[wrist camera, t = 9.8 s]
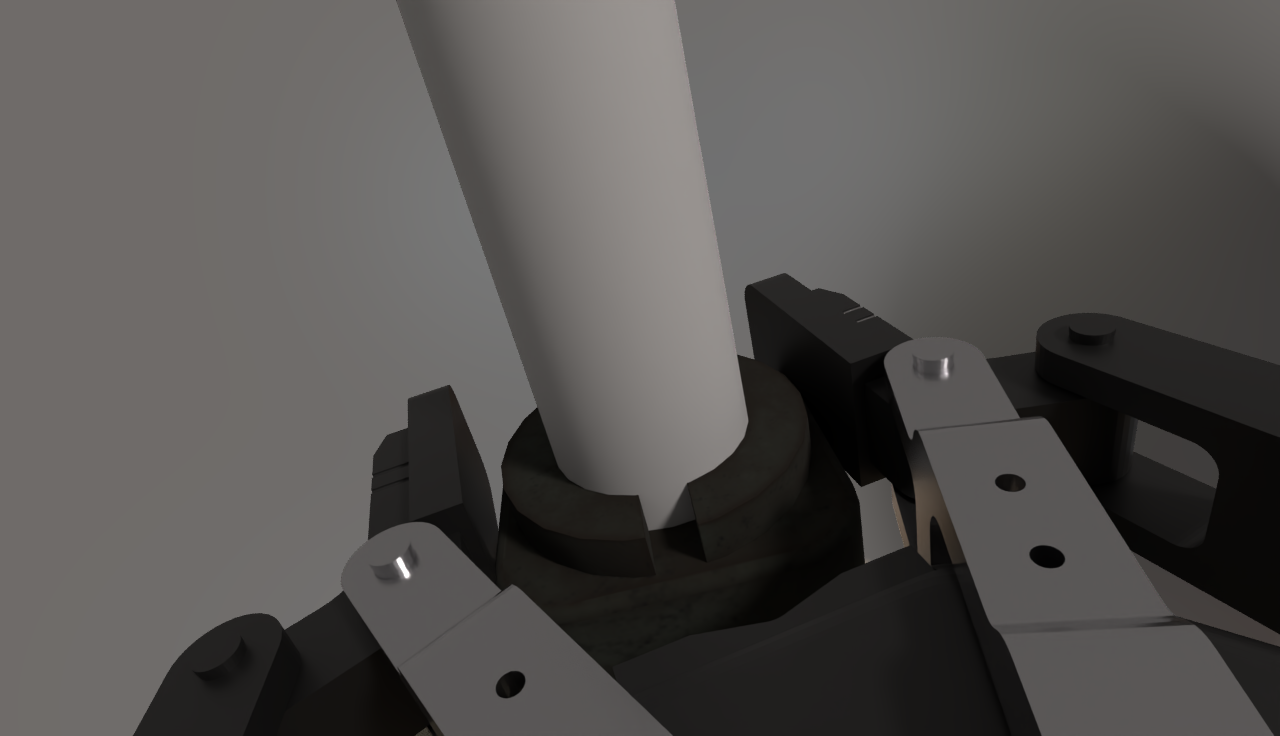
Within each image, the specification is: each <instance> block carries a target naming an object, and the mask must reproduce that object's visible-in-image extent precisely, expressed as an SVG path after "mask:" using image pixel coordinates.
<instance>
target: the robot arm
mask: <svg viewBox="0 0 1280 736" xmlns="http://www.w3.org/2000/svg"><path fill="white" fill-rule="evenodd" d="M745 303H746V309H747V315H748V321H749V328H750V334H751V340H752V347H753V353H754V358H755V360H757V361H761V362H763V363H764V364H766V365H768V366H770V367H771V368H773V369H775V370H777V371H779V372H780V373H782V374H784V375H785V376H787V378H788V379H789V380H790V381H791V382H792V383H793V384H794V385H795V386H796V388H797V390H798V391H799V392H800V393H801V396H802V398H803V400H804V401H805V403H806V405H807V407H808V408H809V410H810V412H811V413H812V415H813V417H814V419H815V420H816V422H817V424H818V425H819V427H820V429H821V431H822V432H823V434H824V436H825V437H826V439H827V441H828V443H829V444H830V446H831V448H832V449H833V451H834V453H835V455H836V456H837V458H838V460H839V461H840V463H841V465H842V466H843V468H844V470H845V471H846V472H847V473H848V474H849V475H850V476H851V477H852V478H853V479H854V480H855V481H856V482H857V483H858V484H859V485H860V486H861V487H862V486H865V485H867V484H870V483H873V482H875V481H878V480H880V479H883V478H887V479H888V480H889V481H890V482H891V491H892V503H893V507H894V511H895V515H896V518H897V522H898V526H899V529H900V533H901V537H902V540H903V544H904V547H905V548H902V549H900V550H897V551H895V552H893V553H890V554H887V555H885V556H883V557H880V558H878V559H875V560H873V561H870V562H868V563H865V564H863V565H861V566H858V567H856V568H853V569H851V570H848V571H846V572H843V573H841V574H840V575H838V576H837V577H836V578H834V579H833V580H831V581H830V582H829V583H827V584H826V585H824V586H823V587H822V588H820V589H819V590H818V591H816V592H815V593H813V594H812V595H811V596H809V597H808V598H806V599H805V600H804V601H802V602H801V603H800V604H798V605H797V606H795V607H794V608H793V609H791V610H790V611H788V612H787V613H786V614H784V615H783V616H781V617H780V618H778V619H775V620H772V621H768V622H763V623H758V624H752V625H746V626H740V627H735V628H729V629H723V630H718V631H712V632H706V633H701V634H695V635H689V636H687V637H684V638H682V639H680V640H677V641H675V642H672V643H670V644H667V645H665V646H662V647H660V648H657V649H655V650H653V651H650V652H648V653H645V654H643V655H640V656H638V657H635V658H633V659H631V660H628V661H626V662H623V663H621V664H618V665H616V666H613V667H612V668H613V671H614V674H615V677H616V680H617V682H616V681H615V680H614V679H613V678H612V677H611V676H610V675H609V674H608V673H607V672H606V671H605V670H604V669H603V668H602V667H601V666H600V665H599V664H598V663H597V662H596V661H595V660H594V659H592V658H591V657H590V656H589V655H588V654H587V653H586V652H585V651H584V650H583V649H582V648H581V647H580V646H579V645H578V644H577V643H576V642H575V641H574V640H573V639H572V638H571V637H570V636H569V635H567V634H566V633H565V632H564V631H563V630H562V629H561V628H560V627H559V626H558V625H557V624H556V623H555V622H554V621H553V620H552V619H551V618H550V617H549V616H548V615H547V614H546V613H545V612H543V611H542V610H541V609H540V608H539V607H538V606H537V605H536V604H535V603H534V602H533V601H532V600H531V599H530V598H529V597H528V596H527V595H526V594H525V593H524V592H523V591H521V590H520V589H519V588H518V587H516V586H515V585H513V584H510V585H508V586H507V587H506V588H504V589H503V590H502V591H501V590H500V589H499V588H498V587H497V586H496V581H497V577H496V570H495V561H496V551H497V541H498V526H497V520H496V514H495V509H494V504H493V498H492V493H491V488H490V484H489V480H488V477H487V473H486V470H485V467H484V464H483V462H482V459H481V456H480V454H479V452H478V449H477V447H476V444H475V442H474V439H473V437H472V434H471V432H470V430H469V427H468V425H467V423H466V420H465V418H464V415H463V413H462V410H461V408H460V405H459V403H458V400H457V398H456V396H455V394H454V391H453V390H452V388H451V386H450V385H447V386H445V387H441V388H439V389H435V390H432V391H430V392H426V393H423V394H420V395H418V396H414V397H411V398H409V399H408V428H407V429H403V430H400V431H398V432H395V433H392V434H389V435H387V436H386V437H385V439H384V440H383V442H382V444H381V445H380V446H379V448H378V450H377V451H376V453H375V454H374V458H373V473H372V475H373V478H372V488H371V490H372V494H371V503H370V518H369V533H368V534H369V535H368V541H367V542H366V543H364V544H363V545H362V546H361V547H360V548H359V549H358V550H357V551H356V552H355V553H354V554H353V555H352V556H351V558H350V559H349V560H348V562H347V563H346V565H345V567H344V569H343V572H342V577H341V585H342V588H343V590H344V591H342V593H340V594H339V595H338V596H337V597H335V598H334V599H333V600H332V601H330V602H329V603H327V604H326V605H324V606H323V607H321V608H320V609H318V610H317V611H315V612H313V613H312V614H310V615H308V616H307V617H305V618H303V619H302V620H300V621H299V622H297V623H295V624H294V625H292V626H290V627H289V628H287V629H286V630H284V629H283V627H282V626H281V624H280V623H279V621H278V620H277V619H276V618H275V617H273V616H270V615H268V614H262V613H258V614H249V615H244V616H241V617H237V618H234V619H232V620H229V621H227V622H225V623H223V624H221V625H219V626H217V627H215V628H214V629H212V630H210V631H209V632H207V633H206V634H204V635H203V636H202V637H200V638H199V639H198V640H196V641H195V642H194V643H193V644H192V645H191V646H189V647H188V648H187V649H186V650H185V651H184V653H182V655H181V656H180V657H179V658H178V659H177V660H176V662H175V663H174V664H173V665H172V667H171V668H170V670H169V672H168V673H167V675H166V677H165V679H164V680H163V682H162V684H161V686H160V688H159V689H158V692H157V693H156V695H155V697H154V699H153V701H152V702H151V704H150V706H149V708H148V710H147V712H146V713H145V715H144V717H143V719H142V721H141V723H140V724H139V726H138V728H137V730H136V731H135V733H134V735H133V736H415V735H416V734H417V733H419V732H420V731H421V730H423V729H424V728H427V730H428V731H429V733H430V734H431V736H1280V647H1279V646H1275V645H1272V644H1268V643H1265V642H1262V641H1258V640H1255V639H1251V638H1248V637H1245V636H1242V635H1238V634H1234V633H1231V632H1228V631H1225V630H1221V629H1218V628H1214V627H1211V626H1208V625H1204V624H1201V623H1198V622H1194V621H1191V620H1187V619H1184V618H1181V617H1177V616H1175V615H1174V614H1173V613H1172V612H1171V611H1170V610H1169V609H1168V608H1167V607H1166V605H1165V604H1164V602H1163V601H1162V599H1161V598H1160V596H1159V595H1158V593H1157V591H1156V590H1155V588H1154V587H1153V585H1152V584H1151V582H1150V580H1149V579H1148V577H1147V576H1146V574H1145V573H1144V571H1143V569H1142V568H1141V566H1140V565H1139V563H1138V561H1137V560H1136V559H1135V557H1134V555H1133V554H1132V552H1131V551H1133V552H1135V553H1137V554H1138V555H1140V556H1142V557H1144V558H1145V559H1147V560H1149V561H1151V562H1152V563H1154V564H1156V565H1158V566H1159V567H1161V568H1163V569H1165V570H1167V571H1168V572H1170V573H1172V574H1174V575H1176V576H1177V577H1179V578H1181V579H1182V580H1184V581H1186V582H1188V583H1190V584H1191V585H1193V586H1195V587H1197V588H1198V589H1200V590H1202V591H1204V592H1206V593H1207V594H1209V595H1211V596H1213V597H1214V598H1216V599H1218V600H1220V601H1222V602H1223V603H1225V604H1227V605H1229V606H1230V607H1232V608H1234V609H1236V610H1238V611H1239V612H1241V613H1243V614H1245V615H1247V616H1248V617H1250V618H1252V619H1253V620H1255V621H1257V622H1259V623H1261V624H1263V625H1264V626H1266V627H1268V628H1270V629H1271V630H1273V631H1275V632H1277V633H1278V634H1280V365H1276V364H1273V363H1270V362H1267V361H1264V360H1260V359H1257V358H1253V357H1250V356H1247V355H1243V354H1240V353H1237V352H1234V351H1231V350H1227V349H1224V348H1220V347H1217V346H1214V345H1211V344H1208V343H1204V342H1201V341H1197V340H1194V339H1191V338H1188V337H1184V336H1181V335H1178V334H1175V333H1171V332H1168V331H1165V330H1161V329H1158V328H1155V327H1152V326H1148V325H1145V324H1142V323H1138V322H1135V321H1131V320H1128V319H1125V318H1122V317H1118V316H1113V315H1107V314H1098V313H1078V314H1069V315H1064V316H1060V317H1057V318H1054V319H1052V320H1049V321H1047V322H1046V323H1044V324H1043V325H1042V326H1041V327H1040V328H1039V329H1038V331H1037V337H1036V352H1031V353H1025V354H1018V355H1012V356H1005V357H999V358H991V359H985V357H984V355H983V354H982V353H981V351H980V350H979V349H977V348H976V347H975V346H973V345H971V344H970V343H967V342H964V341H961V340H957V339H952V338H945V337H927V338H919V339H912V338H910V337H909V336H907V335H906V334H904V333H903V332H901V331H900V330H898V329H896V328H895V327H893V326H892V325H890V324H889V323H887V322H886V321H884V320H882V319H881V318H879V317H878V316H876V317H875V316H874V314H873V313H872V312H870V311H868V310H867V309H865V308H864V307H863V308H861V307H860V305H859V304H857V303H856V302H854V301H853V300H851V299H850V298H848V297H847V296H845V295H844V294H840V293H836V292H831V291H828V290H824V289H819V288H818V289H815V290H812V291H811V290H810V289H808V288H807V287H805V286H804V285H802V284H801V283H800V282H798V281H797V280H795V279H794V278H792V277H791V276H789V275H788V274H786V273H783V274H780V275H777V276H774V277H771V278H768V279H765V280H762V281H759V282H756V283H753V284H750V285H748V286H747V287H746V288H745ZM1138 420H1141V421H1143V422H1146V423H1148V424H1150V425H1153V426H1155V427H1158V428H1160V429H1163V430H1165V431H1167V432H1170V433H1172V434H1175V435H1177V436H1180V437H1182V438H1184V439H1187V440H1189V441H1192V442H1194V443H1196V444H1198V445H1199V446H1201V447H1202V448H1203V449H1205V450H1206V451H1207V452H1208V453H1209V454H1210V455H1211V456H1212V458H1213V459H1214V460H1215V462H1216V464H1217V467H1218V469H1219V479H1218V484H1217V488H1216V489H1215V488H1213V487H1211V486H1209V485H1206V484H1204V483H1202V482H1200V481H1197V480H1195V479H1193V478H1191V477H1189V476H1186V475H1184V474H1182V473H1180V472H1178V471H1175V470H1173V469H1171V468H1169V467H1166V466H1164V465H1162V464H1160V463H1158V462H1155V461H1153V460H1151V459H1149V458H1147V457H1144V456H1142V455H1140V454H1138V453H1135V452H1133V450H1134V445H1135V438H1136V431H1137V424H1138Z"/></svg>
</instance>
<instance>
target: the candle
mask: <svg viewBox="0 0 1280 736" xmlns="http://www.w3.org/2000/svg"><path fill="white" fill-rule="evenodd" d="M396 1H397V4H398V7H399V10H400V13H401V16H402V18H403V21H404V24H405V27H406V30H407V33H408V36H409V39H410V41H411V44H412V47H413V50H414V53H415V56H416V59H417V62H418V64H419V67H420V70H421V73H422V76H423V79H424V82H425V85H426V87H427V90H428V93H429V96H430V99H431V102H432V105H433V108H434V110H435V113H436V116H437V119H438V122H439V125H440V128H441V131H442V133H443V136H444V139H445V142H446V145H447V148H448V151H449V154H450V156H451V159H452V162H453V165H454V168H455V171H456V174H457V177H458V179H459V182H460V185H461V188H462V191H463V194H464V197H465V200H466V202H467V205H468V208H469V211H470V214H471V217H472V220H473V223H474V225H475V228H476V231H477V234H478V237H479V239H480V243H481V245H482V249H483V251H484V254H485V257H486V260H487V263H488V266H489V269H490V271H491V274H492V277H493V280H494V283H495V286H496V289H497V292H498V295H499V297H500V300H501V303H502V306H503V309H504V312H505V315H506V318H507V320H508V323H509V326H510V329H511V332H512V335H513V338H514V341H515V343H516V346H517V349H518V352H519V355H520V358H521V360H522V364H523V366H524V369H525V372H526V375H527V378H528V381H529V383H530V387H531V389H532V392H533V395H534V398H535V401H536V404H537V408H536V409H535V410H534V411H533V412H532V413H531V414H529V415H528V417H526V418H525V419H524V421H523V422H522V423H521V425H520V426H519V428H518V429H517V431H516V432H515V433H514V435H513V436H512V438H511V439H510V441H509V442H508V446H507V449H506V452H505V455H504V458H503V462H502V465H501V469H502V478H503V493H502V502H501V512H500V522H499V531H498V541H497V551H496V561H495V570H496V577H497V581H496V586H497V587H498V588H499V589H500V590H501V591H502V590H503V589H504V588H506V587H507V586H508V585H510V584H513V585H515V586H516V587H518V588H519V589H520V590H521V591H523V592H524V593H525V594H526V595H527V596H528V597H529V598H530V599H531V600H532V601H533V602H534V603H535V604H536V605H537V606H538V607H539V608H540V609H541V610H542V611H543V612H545V613H546V614H547V615H548V616H549V617H550V618H551V619H552V620H553V621H554V622H555V623H556V624H557V625H558V626H559V627H560V628H561V629H562V630H563V631H564V632H565V633H566V634H567V635H569V636H570V637H571V638H572V639H573V640H574V641H575V642H576V643H577V644H578V645H579V646H580V647H581V648H582V649H583V650H584V651H585V652H586V653H587V654H588V655H589V656H590V657H591V658H592V659H594V660H595V661H596V662H597V663H598V664H599V665H600V666H601V667H602V668H603V669H604V670H605V671H606V672H607V673H608V674H609V675H610V676H611V677H612V678H613V679H614V680H615V681H616V682H617V680H616V677H615V674H614V671H613V668H612V667H613V666H616V665H618V664H621V663H623V662H626V661H628V660H631V659H633V658H635V657H638V656H640V655H643V654H645V653H648V652H650V651H653V650H655V649H657V648H660V647H662V646H665V645H667V644H670V643H672V642H675V641H677V640H680V639H682V638H684V637H687V636H689V635H695V634H701V633H706V632H712V631H718V630H723V629H729V628H735V627H740V626H746V625H752V624H758V623H763V622H768V621H772V620H775V619H778V618H780V617H781V616H783V615H784V614H786V613H787V612H788V611H790V610H791V609H793V608H794V607H795V606H797V605H798V604H800V603H801V602H802V601H804V600H805V599H806V598H808V597H809V596H811V595H812V594H813V593H815V592H816V591H818V590H819V589H820V588H822V587H823V586H824V585H826V584H827V583H829V582H830V581H831V580H833V579H834V578H836V577H837V576H838V575H840V574H841V573H843V572H846V571H848V570H851V569H853V568H856V567H858V566H861V565H863V564H865V559H864V548H863V537H862V526H861V515H860V503H859V499H858V497H857V494H856V491H855V488H854V486H853V484H852V482H851V480H850V478H849V477H848V475H847V473H846V472H845V470H844V468H843V466H842V465H841V463H840V461H839V460H838V458H837V456H836V455H835V453H834V451H833V449H832V448H831V446H830V444H829V443H828V441H827V439H826V437H825V436H824V434H823V432H822V431H821V429H820V427H819V425H818V424H817V422H816V420H815V419H814V417H813V415H812V413H811V412H810V410H809V408H808V407H807V405H806V403H805V401H804V400H803V398H802V396H801V393H800V392H799V391H798V390H797V388H796V386H795V385H794V384H793V383H792V382H791V381H790V380H789V379H788V378H787V376H785V375H784V374H782V373H780V372H779V371H777V370H775V369H773V368H771V367H770V366H768V365H766V364H764V363H763V362H761V361H757V360H754V359H750V358H747V357H743V356H740V355H737V353H736V347H735V341H734V336H733V330H732V324H731V319H730V313H729V307H728V302H727V296H726V290H725V285H724V279H723V273H722V267H721V262H720V256H719V251H718V245H717V239H716V233H715V227H714V222H713V216H712V210H711V205H710V199H709V194H708V188H707V182H706V176H705V171H704V165H703V159H702V154H701V148H700V143H699V137H698V131H697V126H696V119H695V114H694V108H693V102H692V97H691V91H690V85H689V80H688V74H687V68H686V62H685V57H684V51H683V45H682V40H681V34H680V28H679V22H678V17H677V11H676V6H675V0H396Z"/></svg>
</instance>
